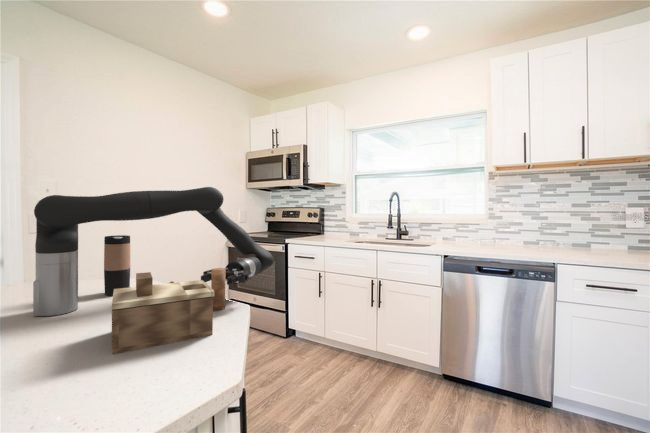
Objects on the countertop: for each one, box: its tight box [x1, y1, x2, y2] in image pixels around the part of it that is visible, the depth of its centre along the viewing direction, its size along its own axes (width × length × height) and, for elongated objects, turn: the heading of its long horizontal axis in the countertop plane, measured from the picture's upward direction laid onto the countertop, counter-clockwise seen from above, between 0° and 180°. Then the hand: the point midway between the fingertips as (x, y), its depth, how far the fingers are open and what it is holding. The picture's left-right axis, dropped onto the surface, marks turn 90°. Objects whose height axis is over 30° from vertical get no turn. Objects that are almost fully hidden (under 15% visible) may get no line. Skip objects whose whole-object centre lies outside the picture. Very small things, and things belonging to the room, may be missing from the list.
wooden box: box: [111, 288, 214, 355], centre depth 75 cm, size 20×14×9 cm
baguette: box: [210, 267, 226, 312], centre depth 93 cm, size 4×4×12 cm
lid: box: [111, 271, 214, 311], centre depth 74 cm, size 20×14×5 cm, turn 123°
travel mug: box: [103, 234, 131, 297], centre depth 108 cm, size 8×8×20 cm
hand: (214, 280), depth 91 cm, fingers open, 8 cm apart
